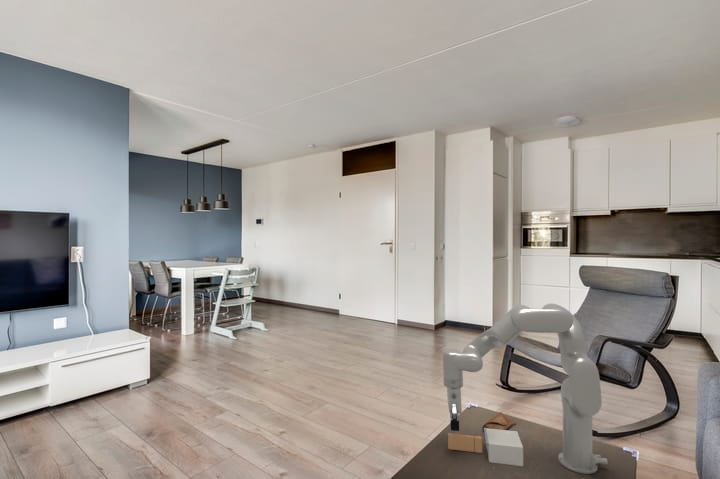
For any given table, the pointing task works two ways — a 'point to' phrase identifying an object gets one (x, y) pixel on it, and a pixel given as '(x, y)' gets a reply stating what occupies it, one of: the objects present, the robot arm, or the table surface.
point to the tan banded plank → (465, 442)
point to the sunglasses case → (499, 423)
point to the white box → (504, 447)
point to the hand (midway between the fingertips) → (454, 424)
